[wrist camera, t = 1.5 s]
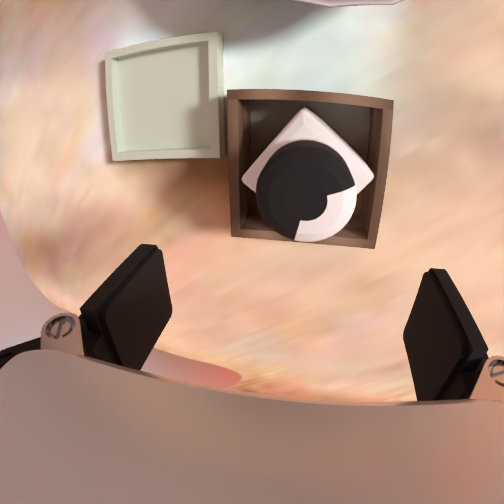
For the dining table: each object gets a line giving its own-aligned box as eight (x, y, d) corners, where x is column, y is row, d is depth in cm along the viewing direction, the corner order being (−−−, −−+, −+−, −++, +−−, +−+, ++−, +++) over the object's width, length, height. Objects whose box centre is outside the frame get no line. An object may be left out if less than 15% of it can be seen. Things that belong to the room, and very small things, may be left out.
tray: (222, 34, 23) (217, 31, 21) (225, 154, 29) (219, 158, 27) (114, 53, 25) (104, 52, 23) (121, 157, 31) (112, 161, 29)
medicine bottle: (255, 160, 28) (220, 204, 18) (304, 104, 25) (299, 111, 15) (311, 207, 30) (308, 275, 20) (362, 157, 26) (392, 200, 16)
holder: (380, 98, 23) (393, 100, 19) (366, 225, 29) (374, 248, 25) (241, 90, 25) (227, 89, 21) (243, 214, 32) (231, 236, 27)
